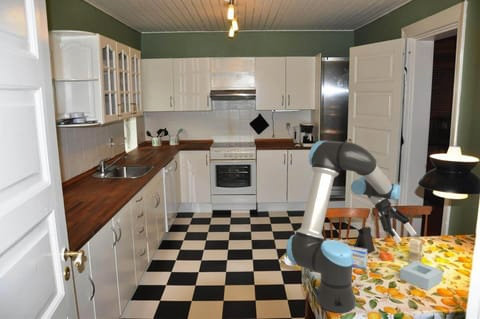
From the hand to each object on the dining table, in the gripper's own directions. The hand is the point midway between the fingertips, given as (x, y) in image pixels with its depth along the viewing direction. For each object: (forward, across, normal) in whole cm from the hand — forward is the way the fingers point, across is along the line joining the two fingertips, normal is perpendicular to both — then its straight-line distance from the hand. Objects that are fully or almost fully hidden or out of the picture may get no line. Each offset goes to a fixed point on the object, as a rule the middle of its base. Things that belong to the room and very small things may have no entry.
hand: (406, 238), depth 172 cm
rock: (+4, +8, -12) cm, 15 cm away
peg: (+11, +1, -4) cm, 12 cm away
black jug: (-6, +7, -21) cm, 23 cm away
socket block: (+18, +15, +4) cm, 24 cm away
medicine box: (0, +25, -14) cm, 29 cm away
